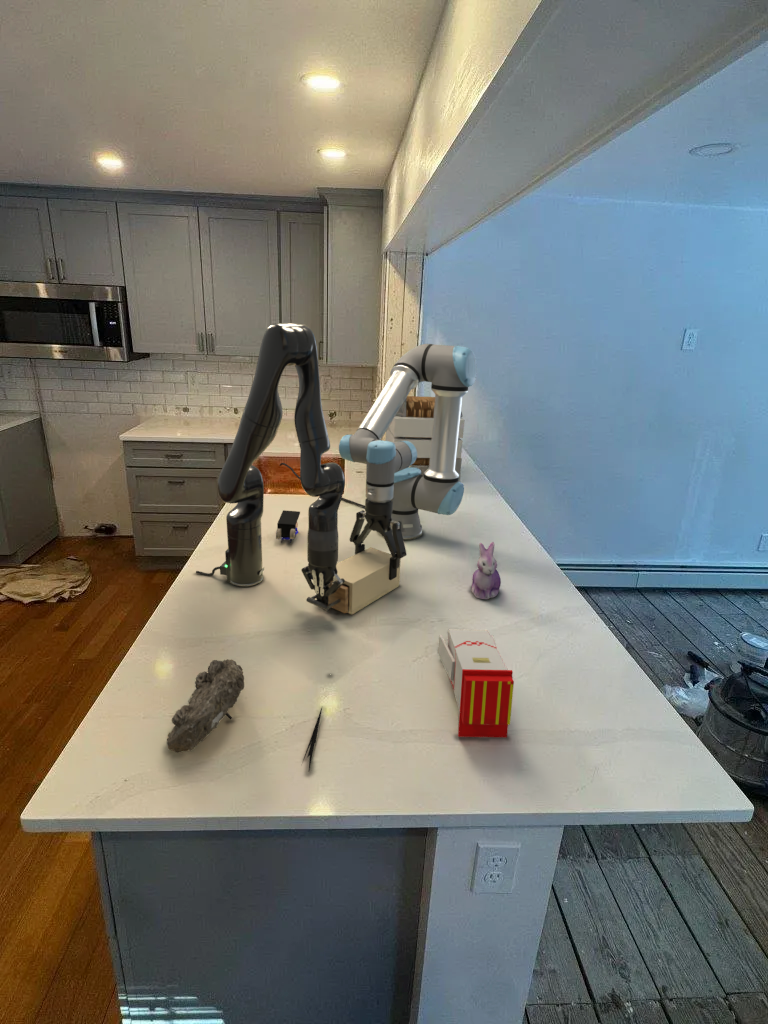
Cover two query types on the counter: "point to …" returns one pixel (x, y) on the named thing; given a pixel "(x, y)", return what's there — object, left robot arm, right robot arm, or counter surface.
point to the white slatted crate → (419, 429)
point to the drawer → (334, 600)
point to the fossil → (206, 705)
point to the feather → (313, 740)
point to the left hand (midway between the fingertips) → (322, 606)
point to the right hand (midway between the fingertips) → (376, 572)
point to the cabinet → (367, 577)
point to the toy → (478, 682)
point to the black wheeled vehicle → (287, 525)
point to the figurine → (486, 574)
